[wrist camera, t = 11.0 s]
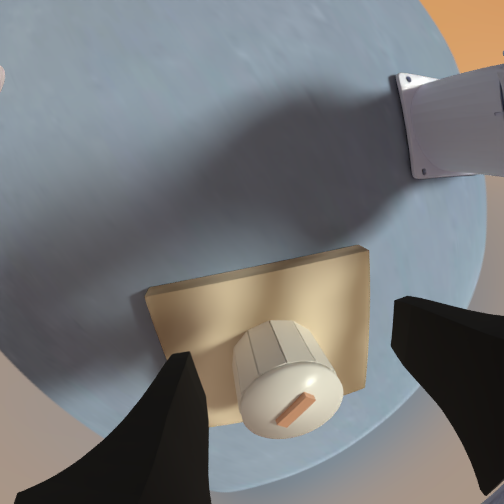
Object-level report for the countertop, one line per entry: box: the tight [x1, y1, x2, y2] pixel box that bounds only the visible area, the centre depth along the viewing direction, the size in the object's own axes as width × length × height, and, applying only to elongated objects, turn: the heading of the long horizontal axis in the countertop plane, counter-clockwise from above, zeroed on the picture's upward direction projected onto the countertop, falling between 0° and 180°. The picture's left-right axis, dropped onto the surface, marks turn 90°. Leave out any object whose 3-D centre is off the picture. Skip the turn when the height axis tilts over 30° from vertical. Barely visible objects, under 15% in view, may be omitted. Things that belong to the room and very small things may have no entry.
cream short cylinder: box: [232, 320, 343, 439], centre depth 16 cm, size 6×6×5 cm
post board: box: [145, 245, 370, 427], centre depth 17 cm, size 14×12×5 cm
